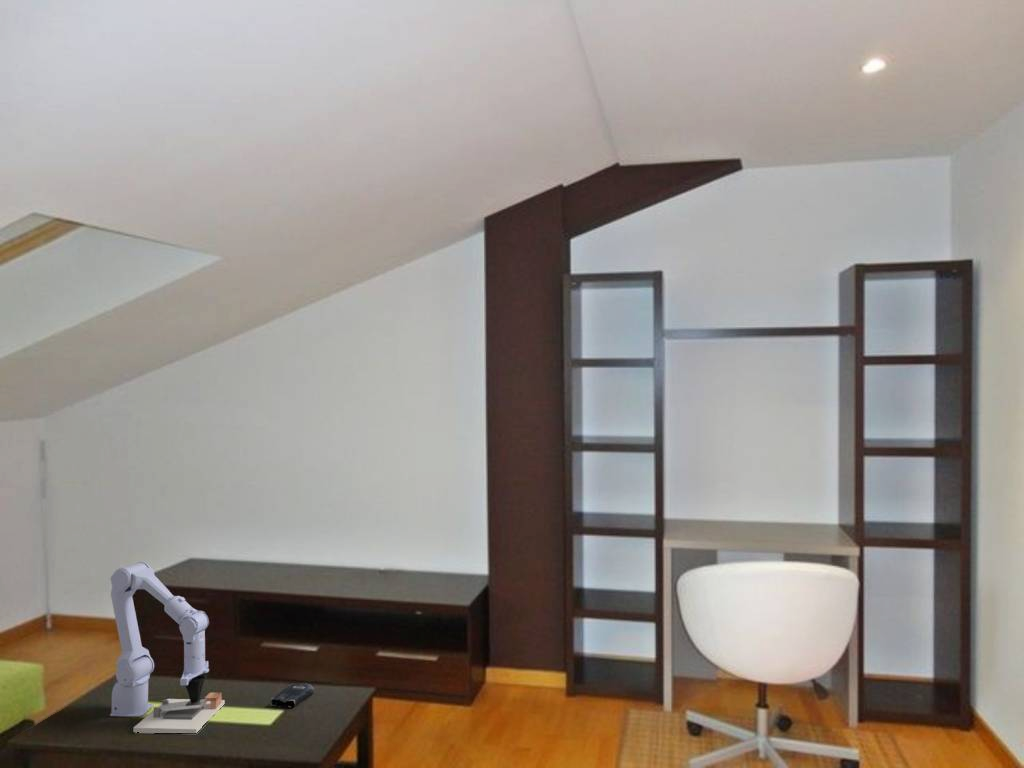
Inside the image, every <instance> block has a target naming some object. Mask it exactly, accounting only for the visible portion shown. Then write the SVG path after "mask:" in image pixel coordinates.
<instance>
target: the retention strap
mask: <svg viewBox="0 0 1024 768" xmlns="http://www.w3.org/2000/svg"><path fill="white" fill-rule="evenodd" d="M206 702H207V699H205V698H204V699H201V698H200V699H199V701H198V702H191V701H184V702H175V703H163V704H162V703H161V704H160V706H159V705H158V706H159V707H160V712H163V711H172V710H181V709H190V708H199V707H202V706H203V705H204V704H205V703H206Z"/></svg>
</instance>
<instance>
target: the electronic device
mask: <svg viewBox="0 0 1024 768" xmlns="http://www.w3.org/2000/svg"><path fill="white" fill-rule="evenodd" d="M314 690H315V688H314V687H313V686H312V684H309V683H303V682H301V683H294V684H290V685H289V686H287V687H285V688H284V689H282V690H281V691H280V692H279V693H277V695H276V696H274V697H271V698H269V700H268V703H269V706H270V707H271V706H273V707H275V706H274V705H276V703H278V704H280V703H283V704H281V705H282V706H280V707H279V708H281V707H282V708H284V709H285V707H288V706H289V705H290V704H289V703H291V702H292V701H293V702H292V704H293V705H292V706H294V707H293V708H292V709H294V708H295V707H296V706H297V705H299V704H300V703H301V702H302V701H304V700H305V699H307V698H309V697H310V696H312V695H313V694H314V692H315V691H314ZM287 702H288V703H287Z"/></svg>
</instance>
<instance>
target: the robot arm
mask: <svg viewBox="0 0 1024 768" xmlns="http://www.w3.org/2000/svg"><path fill="white" fill-rule="evenodd" d="M110 582H111V591H110V598H111V603H112V608H113V613H114V618H115V624H116V628H117V629H116V630H117V634H118V638H119V645H120V648H121V654H120V655H119V657H118V658H117V660H116V661H115V662H116V671H115V676H116V681H117V682H115V684H114V686H113V688H112V691H111V713H109V716H110V717H130V718H131V717H134V718H135V717H136V718H139V717H141V718H142V717H143V716H144V715H145V714H146V713H147V712H149V710H151V709H153V708H154V707H155V706H154V703H153V704H152V703H149V679H150V676H151V674H152V673H153V672H154V669H155V662H154V659H153V658H152V657H151V654H150V651H149V649H148V648H146V647H143V646H142V640H141V634H140V630H139V625H138V619H137V614H136V609H135V605H134V603H135V602H134V599H133V598H134V597H133V595H134V594H135V593H136V591H137V590H145V591H146V592H148V593H149V595H151V596H152V597H154V598H155V599H157V600H158V601H159V602H160V603H161V604H163V605H164V612H165V613H166V614H167V615H168V616H169V617H170V618H171V619H172V620H174V621H175V622H176V623H177V624H178V625H179V627H178V628H179V631H180V634H181V635H182V640H183V660H184V661H183V672H182V675H181V678H180V679H179V681H180V683H179V685H180V686H184V687H185V689H186V692H187V693H188V697H189V698H188V699H190V701H191V702H198V701H199V699H200V700H201V695H202V690H203V686H204V683H205V680H206V679H207V677H208V675H207V673H209V671H210V668H209V660H206V635H205V634H206V633H205V632H206V629H207V628H208V626H209V625H210V620H209V617H208V615H207V614H206V612H205V611H203V610H198V609H195V608H194V607H192V605H190V604H189V603H188V602H187V601H186V598H185V597H184V596H180V595H173V594H172V592H170V590H169V589H168V588H167V587H166V585H164V583H162V582H161V580H160V579H159V578H158V577H157V576H156V575H155V570H154V568H152V567H151V566H150V565H149V564H148V563H147V562H145V561H139V562H136V563H134V564H131V565H128V566H125V567H119V568H118V569H116V570H115V571H114V572H113V574H112V575H111V576H110ZM150 708H151V709H150Z"/></svg>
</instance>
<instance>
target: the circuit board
mask: <svg viewBox="0 0 1024 768" xmlns="http://www.w3.org/2000/svg"><path fill="white" fill-rule="evenodd" d="M184 701H190V698H187V699H186V698H183V699H182V698H180V699H179V698H167V699H162V701H161V704H163V703H175V702H184ZM225 701H226V700H225V699H222V700H221V704H220V705H219V706H218V707H217V708H210V705H211V701H207V702H206V703H205V704H204V705H203V706H202V707H199V708H190V709H181V710H172V711H163V712H160V707H159V706H160V705H161V704H160V705H158V706H153V708H152V709H153V711H151V712H150V713H149V714H147V715H146V716H145V717H144V718H143V719H142V720H141V721H139V723H137V724H135V726H133V731H132V733H133V732H135V733H134V734H154V733H197V732H198V731H199V730H200V729H201V728H202V726H203V725H204V724H205V723H206V722H207V721H208V720H209V719H210V718H211V717H212V716H213V715H214V714H215V713H216V711H218V710H219V709H220V708H221V707H222V706H223V705H224V704H226V703H225ZM224 706H225V705H224ZM224 706H223V707H224ZM223 707H222V708H223ZM222 708H221V709H222ZM221 709H220V710H221ZM220 710H219V711H220ZM219 711H218V712H219ZM216 714H217V713H216ZM202 729H203V728H202ZM202 729H201V730H202ZM201 730H200V731H201ZM200 731H199V732H200ZM137 732H139V733H137ZM199 732H198V733H199ZM198 733H197V734H198Z"/></svg>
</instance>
